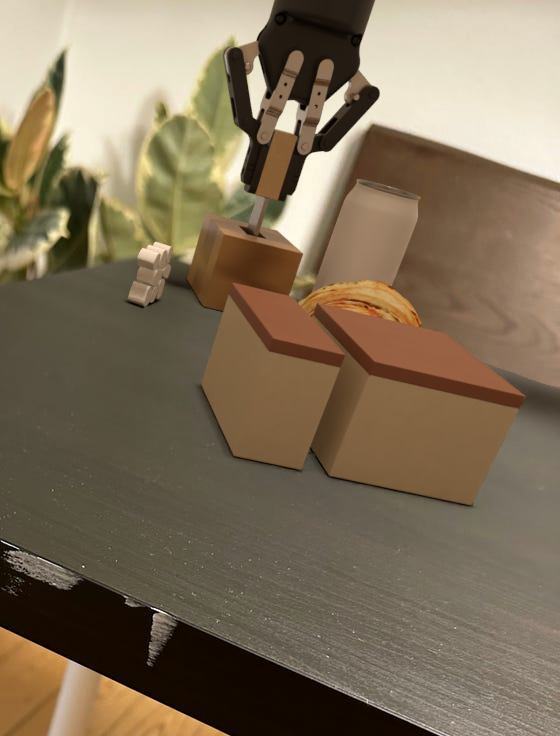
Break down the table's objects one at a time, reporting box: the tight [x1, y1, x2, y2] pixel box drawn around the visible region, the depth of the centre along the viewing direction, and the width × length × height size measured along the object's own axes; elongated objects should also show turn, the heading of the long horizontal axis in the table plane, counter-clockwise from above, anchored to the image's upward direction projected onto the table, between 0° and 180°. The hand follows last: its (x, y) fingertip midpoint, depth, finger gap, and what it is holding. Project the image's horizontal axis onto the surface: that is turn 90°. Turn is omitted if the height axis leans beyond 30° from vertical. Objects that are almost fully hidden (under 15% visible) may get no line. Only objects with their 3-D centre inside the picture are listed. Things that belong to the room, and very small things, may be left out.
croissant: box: [297, 279, 423, 328], centre depth 73 cm, size 21×10×8 cm, turn 163°
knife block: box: [186, 212, 304, 312], centre depth 86 cm, size 7×10×6 cm
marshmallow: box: [127, 241, 174, 308], centre depth 78 cm, size 5×1×4 cm, turn 156°
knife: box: [246, 128, 298, 237], centre depth 84 cm, size 2×3×14 cm, turn 3°
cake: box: [310, 303, 526, 506], centre depth 58 cm, size 9×12×7 cm
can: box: [311, 178, 422, 293], centre depth 85 cm, size 6×6×12 cm
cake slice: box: [200, 283, 345, 471], centre depth 56 cm, size 4×12×7 cm, turn 2°
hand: (264, 194), depth 83 cm, fingers closed on knife, 2 cm apart
